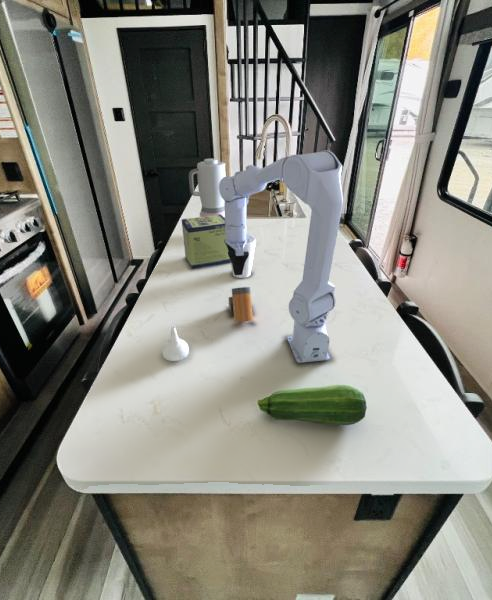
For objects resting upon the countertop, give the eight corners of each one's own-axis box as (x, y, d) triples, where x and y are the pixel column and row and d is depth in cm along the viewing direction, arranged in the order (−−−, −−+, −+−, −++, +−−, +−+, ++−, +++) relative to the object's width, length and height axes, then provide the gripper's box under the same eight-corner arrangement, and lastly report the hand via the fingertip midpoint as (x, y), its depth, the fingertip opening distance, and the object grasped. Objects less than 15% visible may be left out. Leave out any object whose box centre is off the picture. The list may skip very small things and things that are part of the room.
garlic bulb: (163, 366, 74) (158, 339, 69) (162, 349, 79) (157, 323, 75) (191, 361, 75) (187, 334, 71) (187, 344, 80) (184, 318, 76)
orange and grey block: (231, 312, 92) (230, 281, 87) (248, 310, 93) (248, 279, 88) (235, 330, 85) (235, 297, 79) (254, 329, 85) (254, 296, 80)
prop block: (229, 308, 94) (228, 297, 92) (249, 306, 95) (249, 295, 92) (230, 316, 90) (230, 304, 88) (251, 314, 91) (251, 302, 89)
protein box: (231, 262, 120) (230, 222, 112) (191, 269, 115) (187, 228, 107) (222, 251, 128) (221, 213, 120) (184, 258, 123) (180, 218, 115)
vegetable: (372, 395, 55) (257, 388, 57) (369, 434, 56) (256, 427, 58) (360, 380, 63) (258, 375, 64) (358, 415, 63) (257, 409, 65)
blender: (222, 230, 149) (219, 156, 132) (233, 239, 139) (231, 160, 122) (190, 236, 143) (182, 159, 126) (198, 245, 134) (192, 163, 117)
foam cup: (223, 276, 111) (221, 241, 104) (235, 265, 118) (235, 232, 111) (247, 282, 107) (248, 246, 100) (259, 271, 114) (260, 236, 107)
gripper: (255, 231, 80) (254, 279, 87) (245, 214, 92) (245, 257, 99) (227, 233, 79) (228, 281, 86) (221, 215, 91) (223, 258, 99)
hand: (236, 268), depth 93 cm, fingers open, 7 cm apart
